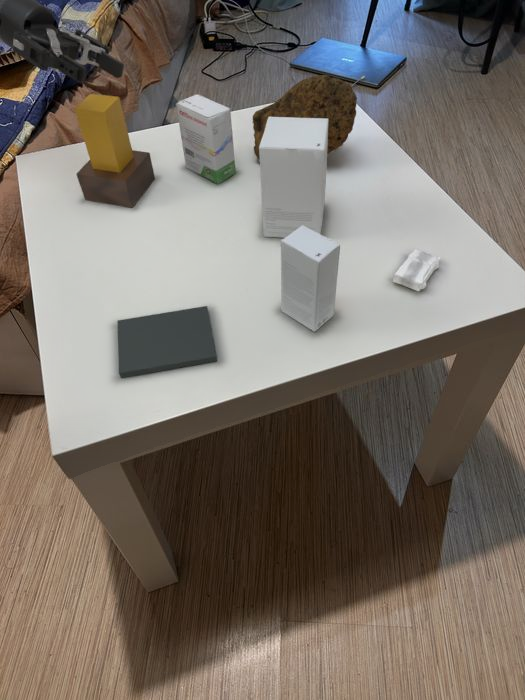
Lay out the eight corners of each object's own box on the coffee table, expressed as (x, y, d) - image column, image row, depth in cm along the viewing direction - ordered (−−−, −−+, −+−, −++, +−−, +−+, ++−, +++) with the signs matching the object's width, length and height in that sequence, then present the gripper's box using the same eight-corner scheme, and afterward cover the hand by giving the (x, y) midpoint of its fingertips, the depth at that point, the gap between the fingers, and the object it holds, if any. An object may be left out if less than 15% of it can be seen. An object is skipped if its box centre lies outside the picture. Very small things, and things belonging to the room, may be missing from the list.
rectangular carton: (324, 206, 85) (331, 116, 74) (320, 241, 80) (326, 149, 68) (269, 203, 87) (267, 114, 75) (261, 237, 81) (257, 146, 69)
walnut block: (84, 200, 89) (75, 173, 85) (109, 171, 94) (102, 145, 90) (132, 208, 87) (125, 181, 83) (155, 178, 92) (149, 152, 88)
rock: (295, 176, 104) (384, 119, 92) (271, 191, 95) (366, 131, 83) (261, 114, 101) (348, 47, 89) (232, 124, 92) (325, 51, 80)
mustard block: (92, 168, 86) (74, 108, 78) (107, 153, 89) (90, 93, 81) (120, 173, 85) (103, 112, 77) (133, 157, 88) (119, 96, 80)
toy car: (388, 284, 73) (391, 272, 72) (411, 252, 77) (414, 240, 76) (420, 296, 72) (423, 284, 70) (442, 263, 76) (445, 251, 74)
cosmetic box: (334, 315, 70) (342, 244, 61) (314, 333, 68) (319, 262, 59) (300, 294, 73) (302, 223, 63) (279, 311, 71) (279, 240, 61)
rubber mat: (120, 378, 64) (118, 373, 64) (119, 325, 70) (117, 320, 69) (217, 361, 66) (216, 356, 65) (207, 310, 71) (207, 305, 70)
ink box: (237, 173, 93) (232, 107, 84) (217, 185, 90) (209, 118, 81) (204, 156, 96) (196, 91, 87) (184, 167, 94) (173, 102, 85)
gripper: (47, 44, 86) (127, 94, 84) (-25, 48, 75) (66, 105, 73) (53, -6, 81) (138, 45, 80) (-23, -11, 70) (74, 49, 69)
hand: (103, 74), depth 76 cm, fingers open, 8 cm apart
